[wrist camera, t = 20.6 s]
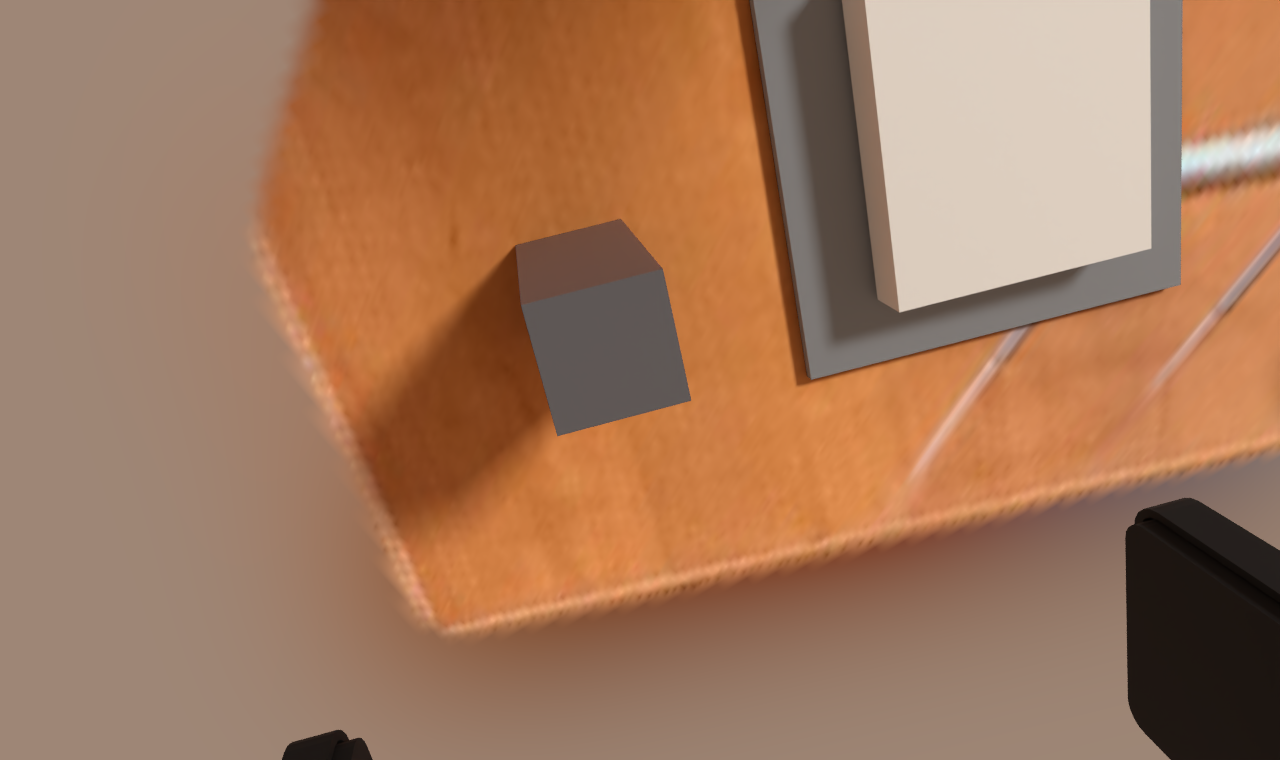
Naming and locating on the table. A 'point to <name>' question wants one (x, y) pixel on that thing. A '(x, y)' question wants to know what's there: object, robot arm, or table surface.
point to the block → (600, 326)
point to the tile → (999, 139)
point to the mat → (837, 213)
